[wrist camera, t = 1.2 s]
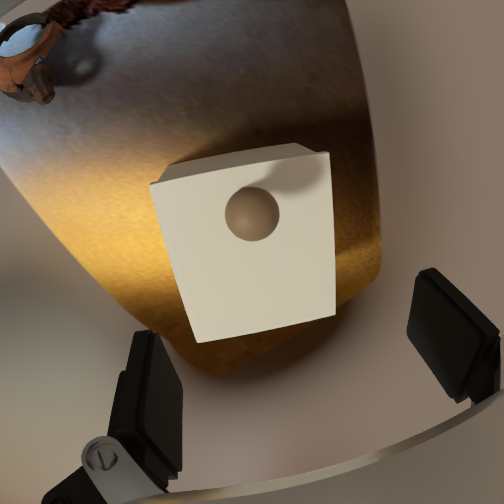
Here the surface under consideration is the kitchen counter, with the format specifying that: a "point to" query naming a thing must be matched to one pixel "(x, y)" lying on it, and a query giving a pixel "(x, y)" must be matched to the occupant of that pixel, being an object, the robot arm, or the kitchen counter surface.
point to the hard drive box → (8, 5)
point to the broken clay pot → (29, 62)
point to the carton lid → (251, 243)
